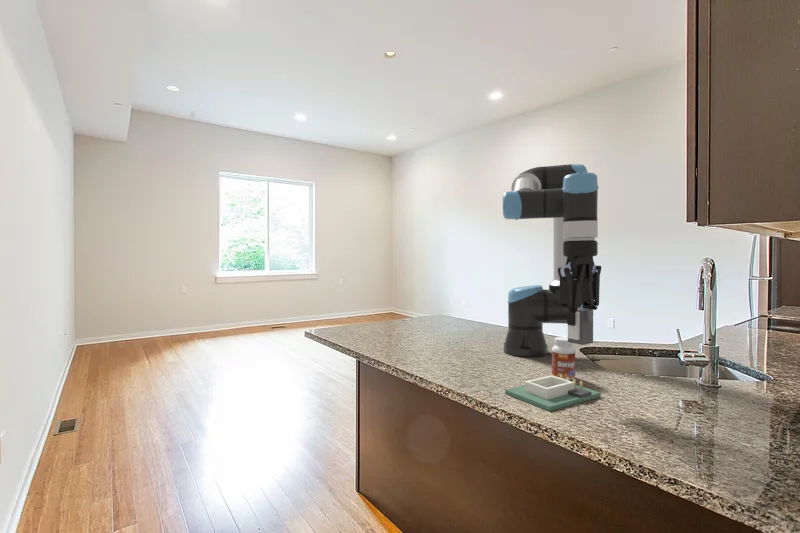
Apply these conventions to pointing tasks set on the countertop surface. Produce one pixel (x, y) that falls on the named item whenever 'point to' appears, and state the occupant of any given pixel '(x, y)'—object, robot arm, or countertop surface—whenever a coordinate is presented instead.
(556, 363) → the pill bottle
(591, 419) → the countertop surface
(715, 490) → the countertop surface
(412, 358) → the countertop surface
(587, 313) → the plug
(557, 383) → the header board
